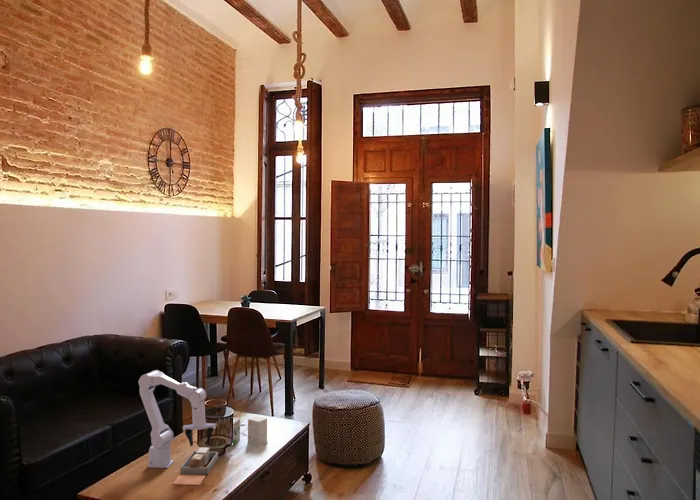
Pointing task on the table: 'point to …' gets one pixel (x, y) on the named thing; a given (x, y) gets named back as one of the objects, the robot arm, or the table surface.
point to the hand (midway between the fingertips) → (200, 444)
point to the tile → (189, 479)
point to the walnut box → (197, 460)
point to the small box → (257, 430)
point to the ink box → (236, 430)
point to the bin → (199, 470)
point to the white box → (206, 454)
